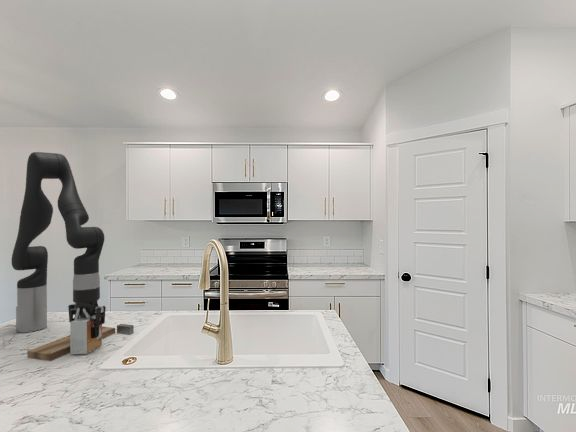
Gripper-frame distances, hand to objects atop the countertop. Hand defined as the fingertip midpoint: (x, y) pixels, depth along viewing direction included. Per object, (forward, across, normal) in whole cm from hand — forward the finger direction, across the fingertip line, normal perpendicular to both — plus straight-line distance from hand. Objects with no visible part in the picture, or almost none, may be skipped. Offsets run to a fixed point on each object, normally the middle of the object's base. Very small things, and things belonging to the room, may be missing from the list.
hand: (86, 336), depth 102 cm
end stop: (+4, 0, +16) cm, 16 cm away
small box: (+4, 0, 0) cm, 4 cm away
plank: (+5, -9, +3) cm, 10 cm away
